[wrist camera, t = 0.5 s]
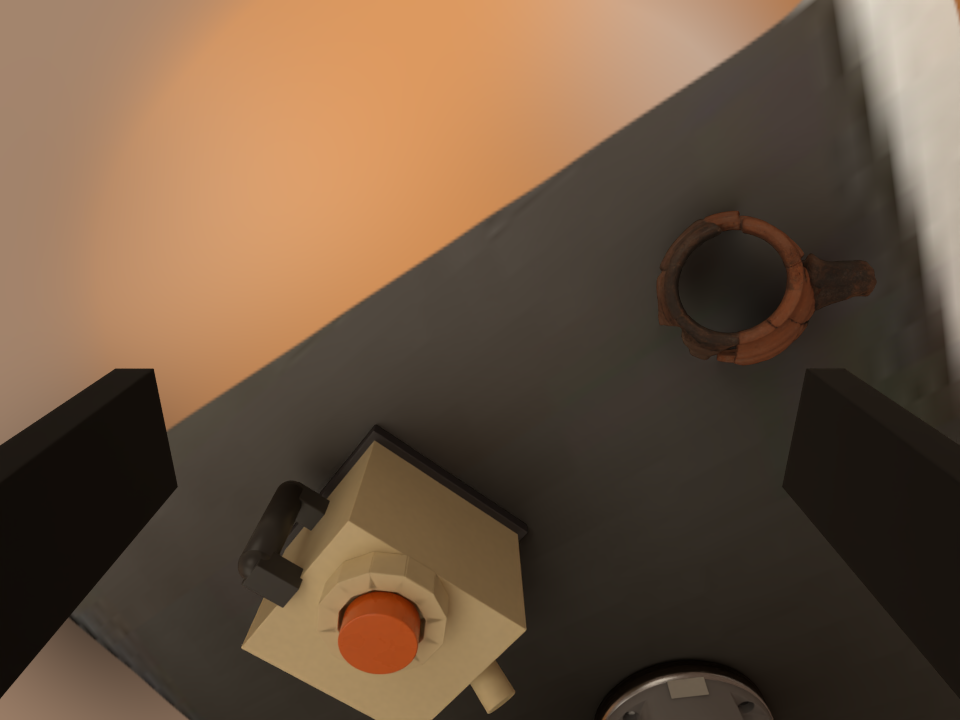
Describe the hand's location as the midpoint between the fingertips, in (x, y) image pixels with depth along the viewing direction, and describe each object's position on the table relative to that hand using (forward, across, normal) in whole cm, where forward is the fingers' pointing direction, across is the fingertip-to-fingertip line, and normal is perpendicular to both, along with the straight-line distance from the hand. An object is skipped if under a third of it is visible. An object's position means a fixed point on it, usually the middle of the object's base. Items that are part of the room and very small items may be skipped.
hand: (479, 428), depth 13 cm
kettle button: (+16, +6, +21) cm, 27 cm away
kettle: (+28, +6, +24) cm, 37 cm away
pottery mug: (+28, -17, +4) cm, 33 cm away
